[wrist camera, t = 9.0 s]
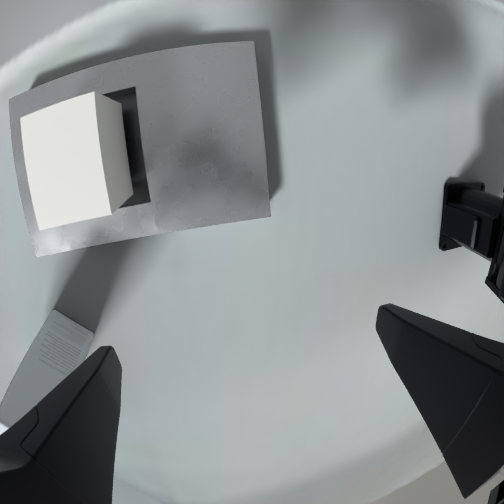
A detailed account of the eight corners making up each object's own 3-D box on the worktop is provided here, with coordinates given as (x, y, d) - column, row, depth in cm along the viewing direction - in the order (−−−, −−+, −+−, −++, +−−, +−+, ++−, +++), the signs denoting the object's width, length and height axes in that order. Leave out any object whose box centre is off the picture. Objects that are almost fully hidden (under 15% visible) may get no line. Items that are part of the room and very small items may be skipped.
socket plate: (247, 50, 16) (253, 40, 14) (263, 209, 20) (270, 216, 18) (23, 101, 14) (8, 99, 12) (48, 247, 18) (36, 257, 16)
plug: (126, 106, 16) (94, 91, 10) (138, 189, 18) (111, 214, 12) (70, 121, 15) (20, 118, 9) (83, 201, 17) (39, 230, 11)
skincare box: (77, 373, 22) (46, 480, 11) (38, 350, 21) (-7, 451, 10) (97, 332, 21) (58, 455, 10) (53, 305, 20) (-9, 416, 9)
